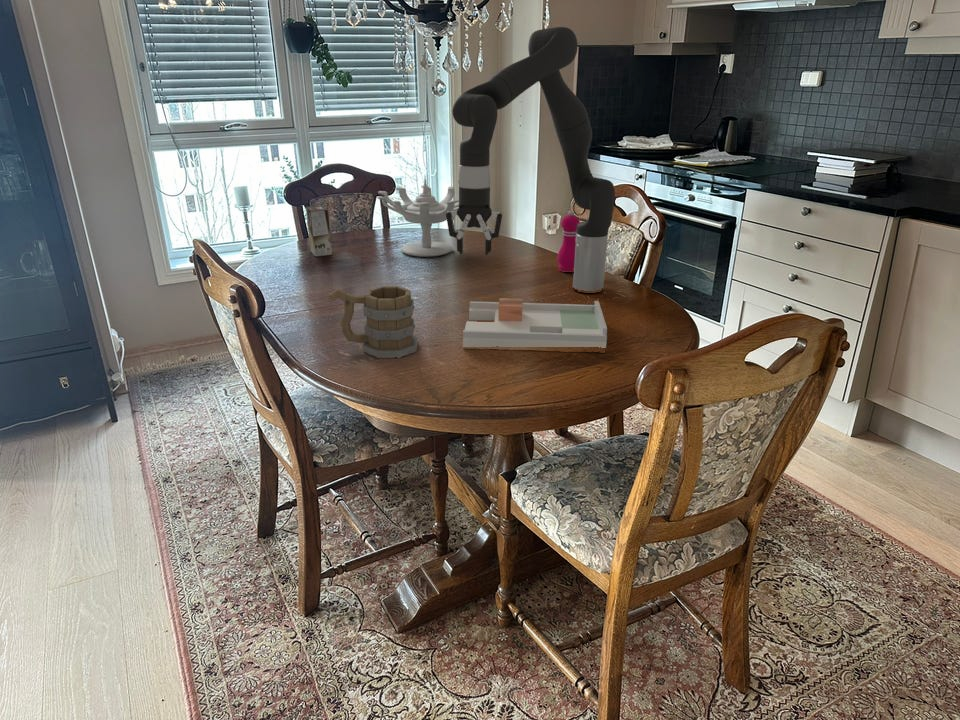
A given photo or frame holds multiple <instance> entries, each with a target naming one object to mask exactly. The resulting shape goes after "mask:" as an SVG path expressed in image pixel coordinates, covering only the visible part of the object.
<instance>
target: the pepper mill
mask: <svg viewBox="0 0 960 720" xmlns="http://www.w3.org/2000/svg"><path fill="white" fill-rule="evenodd" d="M567 214H568V215H566V216H564V217H563V218H562V219H561V222H560V223H561V228H562V233H561V234H562V235H563V237H562V238H563V239H562V244H561V246H560V249H559V251H558V253H557V261H558V263H559V264H558V266H557V270H558V269H559V270H562V271H574V262H575V248H576V232H577V225H578V223H580V222H581V221H580V219H579V218H578V217H577V216H576V215H574V214H575V212H574V211H573V210H568V213H567Z"/></svg>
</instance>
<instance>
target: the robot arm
mask: <svg viewBox="0 0 960 720" xmlns="http://www.w3.org/2000/svg"><path fill="white" fill-rule="evenodd" d="M578 43H579V42H578V38H577V35H576V34H575V32H574V31H573V30H572V29H571V28H569V27H566V26H556V27H550V28H549V27H548V28H542V29H538V30H535V31H534V32H532V33H531V35H530V37H529V39H528V43H527V45H528V47H527V48H528V50H527V51H528V56H527V57H524V58H523V59H520V60H518V61H516V62H514V63H512V64H510V65H509V64H508V66H506V67H504V68H503V69H501V70H499V71H498V72H497V73H496V74H494V75H493V76H491V78H489V79H488V80H487V81H485V82H483V83H480V84H479V85H476V86H475V87H472V88H470V89H468V90H466V91H464V92H463V93H461V94H460V95H458V97H457V98H456V99H455V100H454V103H453V106H452V111H451V112H452V117H453V119H454V121H455V122H456V123H457V124H458V125H460V126H463V127H466V128H473V129H472V132H471V135H470V137H466V138H463V139H462V140H461V141H460V142H459V143H460V144H459V169H458V180H457V181H458V184H457V185H458V200H459V208H458V210H457V211H448V212H447V213H446V218H447V220H446V223H447V229H448V235H449V236H450V237H452V238H455V239H456V251H457V252H459V254H460V255H463V254H464V237H463V235H464V233H465V231H466V229H467V228H468V229H469V228H477V229H478V228H479V229H480V228H481V230H482V232H483V234H484V236H485V249H484V250H485V253H484V254H485V256H487V255H489V253H491V252H492V240H493V239H495V238H498V237H499V236H500V235H499V234H500V231H501V230H500V229H501V224H502V220H503V212H502V211H494V210H493V211H492V209H491V169H490V153H491V152H490V148H491V143H492V140H493V136H494V132H495V129H496V124H497V120H498V110H501V109H503V108H505V107H507V106H508V105H509V104H511V103H512V102H513V101H514V100H516V99H517V98H518V97H519V96H520V95H521V94H523V93H524V92H526V90H527V91H528V89H530V88H531V87H533V86H534V85H535V84H537V83H538V82H539V84H540V87H541V89H542V92H543V94H544V98H545V101H546V103H547V105H548V109H549V112H550V115H551V118H552V122H553V123H552V124H553V126H554V129H555V132H556V136H557V139H558V142H559V144H560V147H561V151H562V155H563V158H564V162H565V165H566V169H567V173H568V179H569V185H570V188H571V194H572V197H573V200H574V202H575V205H576V206H578V207H579V208H581V209H583V210H588V211H589V212H588V214H589V215H588V218H587V220H584V221H580V223H578V225H577V232H576V248H575V262H574V273H573V277H572V278H573V279H572V288H573V287H574V288H575V289H578V290H584V291H595V290H599V289H602V288H603V289H604V281H605V274H606V272H605V271H606V261H607V250H608V239H609V238H608V237H609V230H610V227H611V224H612V221H613V214H614V208H615V207H614V206H615V201H616V200H615V199H616V190H615V186H614V183H613V182H612V181H611V180H609V179H605V178H601V177H596V176H593V174H592V171H591V170H590V165H589V161H588V157H589V156H588V155H589V151H590V148H591V144H592V139H593V130H592V126H591V125H592V124H591V121H590V118H589V115H588V112H587V108H586V107H585V105H584V104H583V103H582V101H581V100H580V99H579V98H578V96H577V95H576V94H575V93H574V92H573V91H572V90H571V88H569V86H568V85H567V83H566V82H565V80H564V79H563V76H562V74H561V72H560V70H561V69H562V70H563V68H566V67H567V66H570V65H571V64H572V63H573V61H574V60H575V58H576V56H577V54H578ZM456 217H458V218H459V219H460V220H461V222H462V224H461V226H460V228H459V230H458V231H456V230H455V223H454V221H455V220H456ZM490 217H492V218H493V219H492V220H493V221H494V222H495V226H494V231H492V232H491V230H490V227H489V225H488V220H489V219H490Z"/></svg>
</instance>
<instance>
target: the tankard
mask: <svg viewBox="0 0 960 720" xmlns="http://www.w3.org/2000/svg"><path fill="white" fill-rule="evenodd" d="M411 293H412V291H411V289H408V288H405V287H402V286H396V285H395V286H393V285H391V286H389V285H386V286H379V287H374V288H370V289H368V290H367V291H366V293H365V295H355V294H354V295H353V294H351V293H348V292H346V291H344V290H341V289H339V288H337V289H335V290H333V291H332V292H330V293H329V294H328V298H329V299H330V300H331V302H335V300H338V299H340V300H342V301H343V302H344V303H343V305H344V307H343V309H344V312H343V314H342V318H341V322H340V328H341V329H340V330H341V333H342V335H343V336H344V337H345V339H346V340H347V342H351V343H358V344H361V343H363V345H362V352H363V353H365V352H366V353H365V354H367V353H368V354H367V355H369V354H370V356H372V355H373V356H372V357H374V356H375V358H376V357H377V358H376V359H400V357H401V358H403V357H402V356H404V357H406V356H409V355H411V353H412V354H414V353H416V352H417V351H418V345H419V340H418V339H419V337H417V336H416V335H414V332H415V328H416V324H415V318H412V317H413V315H414V309H415V304H414V303H415V302H414V299H412V294H411ZM355 304H364V305H363V306H362V309H363V316H364V317H366V321H365V325H364V332H363V333H355V332H353V330H352V328H351V327H352V326H351V322H352V319H353V316H354V313H355V310H354V309H355ZM415 351H416V352H415ZM413 352H414V353H413ZM408 354H409V355H408ZM405 355H406V356H405ZM379 357H381V358H379ZM395 357H397V358H395Z"/></svg>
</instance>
